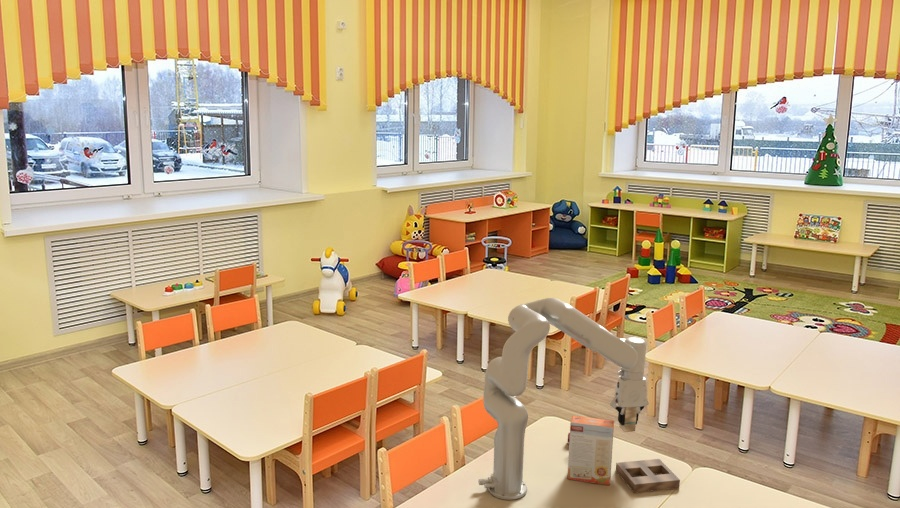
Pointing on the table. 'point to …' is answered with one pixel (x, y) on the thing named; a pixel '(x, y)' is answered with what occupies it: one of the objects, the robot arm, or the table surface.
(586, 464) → the cracker box
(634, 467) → the peg board
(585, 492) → the table surface
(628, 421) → the peg
